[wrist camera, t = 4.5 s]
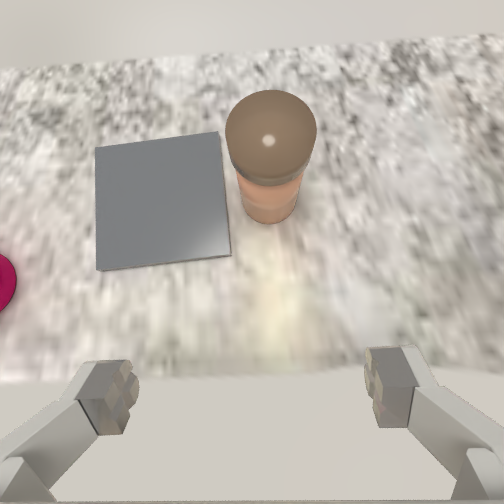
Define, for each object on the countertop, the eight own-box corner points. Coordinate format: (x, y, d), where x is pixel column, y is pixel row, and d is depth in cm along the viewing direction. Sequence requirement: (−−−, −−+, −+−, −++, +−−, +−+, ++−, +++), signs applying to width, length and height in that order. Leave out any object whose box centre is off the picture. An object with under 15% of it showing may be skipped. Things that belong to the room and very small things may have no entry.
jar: (293, 167, 30) (309, 84, 20) (302, 222, 29) (323, 165, 18) (236, 174, 30) (221, 96, 20) (243, 229, 29) (230, 177, 19)
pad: (219, 136, 31) (218, 131, 31) (231, 255, 29) (230, 254, 28) (99, 151, 32) (95, 147, 31) (100, 271, 29) (96, 270, 28)
